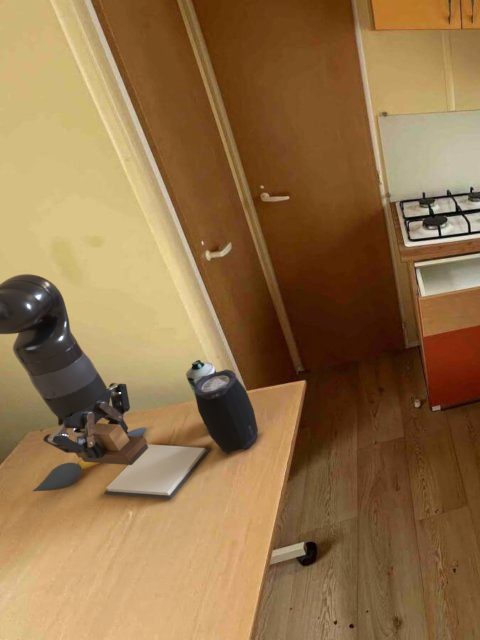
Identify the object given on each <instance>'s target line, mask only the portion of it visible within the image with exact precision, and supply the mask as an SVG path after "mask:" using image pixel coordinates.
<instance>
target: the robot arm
mask: <svg viewBox="0 0 480 640" xmlns="http://www.w3.org/2000/svg"><path fill="white" fill-rule="evenodd" d="M16 334H17V337H15V338H16V339H15V340H14V342H13V345H12V352H13V354H14V356H15V358H16V359H17V361H18V362H19V363H20V365H21V366H22V368H23V369H24V371H25V372H26V373H27V375H28V377H29V379H30V382H31V384H32V386H33V387H34V389H35V391H36V392H37V393H38V394H39V396H40V397H41V398H42V400H43V401H44V403H45V404H46V405H47V407H48V409H49V410H50V411H51V413H52V414H54V415H55V416H56V417H57V424H58V426H57V428H56V429H55V430H54V431H53V433H49V434H46V435H45V436H44V437H43V441H44V442H45V443H47V444H48V445H51V446H52V447H55V448H56V449H58V450H60V451H62V452H64V453H66V454H69V453H71V454H76V453H82V452H84V453H85V455H86V456H87V457H88V458H92V459H97V458H99V459H101V458H102V457H103V456H104V455H105V454H104V452H103V451H102V449H101V448H100V446H99V445H98V443H97V442H95V439H94V433H95V432H96V430H95V424H96V423H99V421H100V420H102V419H104V420H106V421H108V422H107V424H117V425H121V427H122V428H123V430H124V432H125V433H126V434H128V432H129V431H128V430H129V427H128V425H127V423H126V421H125V420H124V415H125V413H128V412H129V411H130V409H131V406H130V405H131V404H130V398H129V394H128V388H127V387H128V386H127V384H126V383H118V382H112V383H109V385H108V387H107V385H106V383H105V381H104V380H103V377H102V376H101V375H100V373H99V371H98V370H97V368H96V367H95V365H94V363H93V361H92V360H91V358H90V357H89V356H88V355H87V354H86V353H85V352H84V350H83V349H82V347H81V346H80V344H79V341H78V340H77V339H76V337H75V336H74V334H73V333H72V331H71V325H70V319H69V314H68V310H67V306H66V303H65V300H64V297H63V295H62V293H61V291H60V289H58V287H57V286H56V285H55V284H54V283H53V282H52V281H50V280H48V278H45V277H43V276H40V275H36V274H31V273H24V274H23V273H22V274H18V275H14V276H11V277H9V278H8V279H5V280H4V281H3V282H1V283H0V335H16ZM110 402H111V404H110ZM68 429H70V434H69V432H68ZM71 435H72V437H74V440H73V439H71V438H70V437H71Z"/></svg>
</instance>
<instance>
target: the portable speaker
mask: <svg viewBox="0 0 480 640" xmlns="http://www.w3.org/2000/svg"><path fill="white" fill-rule="evenodd" d="M194 390H195V394H194V397H195V400H196V401H195V402H196V406H197V410H198V413H199V416H200V418H201V419H202V422H203V423H204V425H205V428H206V430H207V432H208V434H209V436H210V438H211V439H212V440H213V442H214V443H215V444H216V445H217V446H218V447H219V448H220V449H221V451H222V452H223V453H225V454H226V455H229V454H230V453H234V452H237V451H241V450H244V451H246V450H248V449H249V450H250V449H251V448H252V446H253V445H255V443H256V442H257V440H258V437H259V434H258V432H259V429H258V424H257V420H256V414H255V410H254V407H253V405H252V402H251V399H250V397H249V394H248V392H247V390H246V388H245V387H244V385H243V384H242V383H241V381H240V380H239V379H238V378H237V375H236V373H235V372H234V371H233V370H231V369H227V368H225V369H223V370H219V371H216V373H213V374H210V375H206V376H203V377H202V378H200V379H199V380H198V381H197V382H196V384H195V386H194Z"/></svg>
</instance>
